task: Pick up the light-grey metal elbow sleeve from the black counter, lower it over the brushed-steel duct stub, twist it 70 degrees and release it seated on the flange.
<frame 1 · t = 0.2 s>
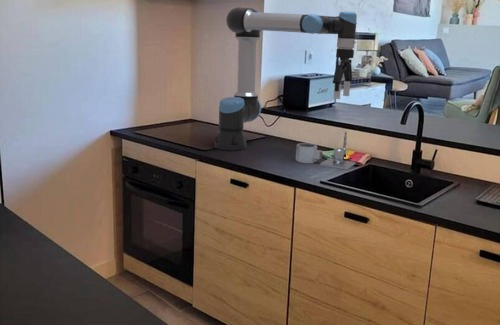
hand: (341, 97, 233), 27 cm above the counter, fingers open, 13 cm apart
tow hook: (343, 158, 239), on the counter
elbow sleeve: (305, 160, 230), on the counter
duct stub: (337, 164, 226), on the counter
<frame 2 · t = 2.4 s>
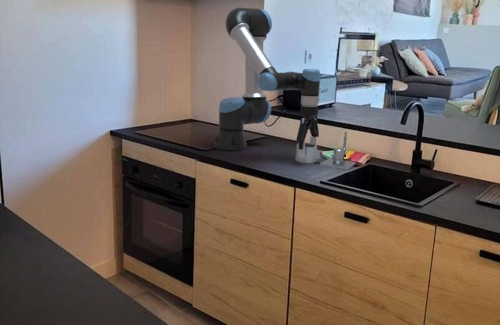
hand: (307, 153, 229), 3 cm above the counter, fingers open, 13 cm apart
nothing on the counter moved.
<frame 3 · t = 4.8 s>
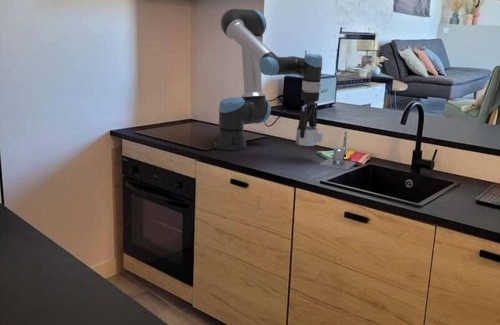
hand: (306, 142, 229), 8 cm above the counter, fingers closed on elbow sleeve, 8 cm apart
elbow sleeve: (306, 143, 229), point 8 cm above the counter, touching gripper
everything else where it was.
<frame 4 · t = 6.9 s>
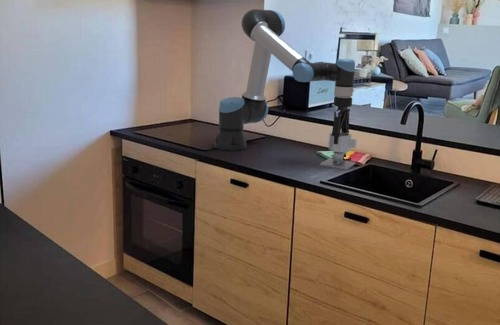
hand: (339, 149, 224), 7 cm above the counter, fingers closed on elbow sleeve, 8 cm apart
elbow sleeve: (339, 150, 224), point 7 cm above the counter, touching gripper
everything else where it was.
when the fingers open (2 cm above the counter, at t = 9.6 s): elbow sleeve stays where it is, resting on duct stub.
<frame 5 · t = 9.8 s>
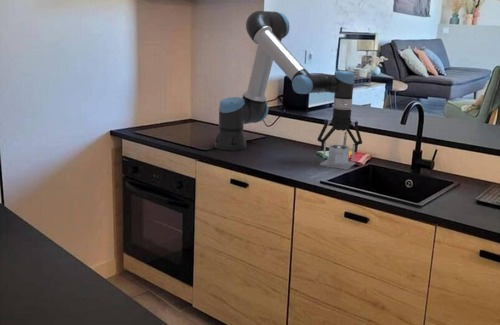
hand: (338, 158, 225), 3 cm above the counter, fingers open, 11 cm apart
elbow sleeve: (338, 162, 225), point 1 cm above the counter, touching duct stub
everything else where it was.
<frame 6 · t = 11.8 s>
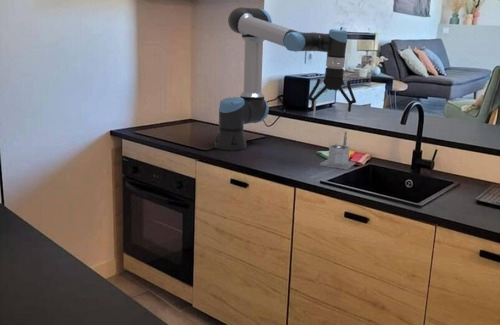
hand: (329, 117, 223), 20 cm above the counter, fingers open, 13 cm apart
nothing on the counter moved.
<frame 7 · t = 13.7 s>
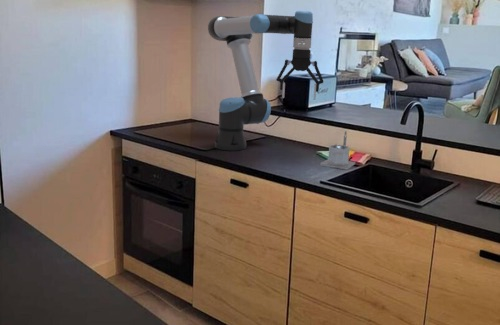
hand: (298, 98, 228), 27 cm above the counter, fingers open, 13 cm apart
nothing on the counter moved.
at the end: elbow sleeve 0.0 cm off-centre on the duct stub, point 0.8 cm above the duct stub's base; elbow sleeve tilted 0°; the gripper is holding nothing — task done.
